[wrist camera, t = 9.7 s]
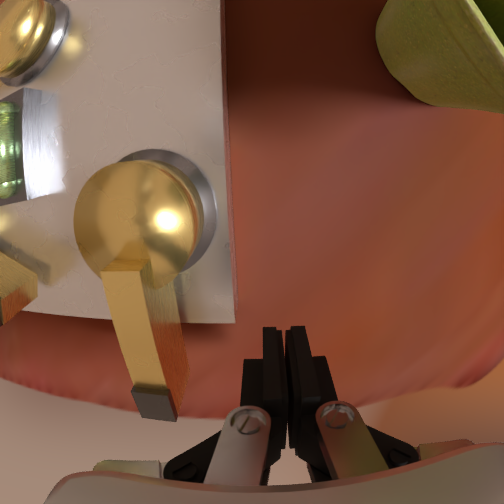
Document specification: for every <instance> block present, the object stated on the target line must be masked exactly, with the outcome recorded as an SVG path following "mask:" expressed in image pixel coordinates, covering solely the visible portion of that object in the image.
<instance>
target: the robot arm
mask: <svg viewBox="0 0 504 504" xmlns="http://www.w3.org/2000/svg"><path fill="white" fill-rule="evenodd" d="M287 423H288V435H289V447H290V449H292V448H295V455H296V456H298V457H299V458H301V459H302V460H304V461H306V462H307V469H308V472H309V475H310V479H311V482H312V483H306V484H293V485H273V486H267V485H268V480H269V474H270V466H271V465H273V464H274V463H275V462H276V461H278V460H279V459H280V456H281V449H285V445H286V433H287ZM44 504H504V443H502V442H487V443H478V444H474V443H473V442H472V441H470V440H467V439H459V440H453V441H445V442H438V443H427V444H419V445H418V447H413V446H411V445H410V444H408V443H405V442H403V441H401V440H398V439H396V438H394V437H391V436H389V435H387V434H385V433H382V432H380V431H378V430H376V429H374V428H372V427H369V426H367V425H365V423H364V421H363V419H362V418H361V416H360V414H359V412H358V411H357V409H356V408H355V407H354V406H353V405H351V404H350V403H347V402H344V401H338V399H337V395H336V391H335V388H334V384H333V381H332V377H331V374H330V370H329V367H328V363H327V360H326V357H325V356H314V357H312V355H311V351H310V346H309V342H308V338H307V334H306V329H305V326H291V329H290V330H286V333H285V356H284V347H283V338H282V330H276V327H263V359H244V364H243V376H242V389H241V402H240V407H238V408H236V409H234V410H232V411H231V412H230V413H229V414H228V415H227V417H226V419H225V422H224V425H223V428H222V430H221V431H219V432H218V433H216V434H214V435H213V436H211V437H209V438H208V439H206V440H204V441H203V442H201V443H200V444H198V445H196V446H194V447H193V448H191V449H189V450H187V451H186V452H184V453H182V454H180V455H178V456H176V457H175V458H173V459H172V460H170V461H169V462H168V463H160V462H159V460H158V461H157V460H155V461H126V460H125V461H123V460H104V461H101V462H99V463H97V465H95V466H94V468H93V471H86V472H79V473H74V474H70V475H68V476H65V477H64V478H62V479H61V480H60V481H59V482H58V483H57V484H56V485H55V486H54V488H53V489H52V491H51V492H50V494H49V495H48V497H47V499H46V500H45V502H44Z"/></svg>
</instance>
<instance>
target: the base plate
mask: <svg viewBox="0 0 504 504" xmlns="http://www.w3.org/2000/svg"><path fill="white" fill-rule="evenodd" d="M44 1H46V2H48V3H50V4H51V5H53V7H54V8H55V11H56V21H55V26H54V29H53V32H52V35H51V37H50V39H49V41H48V43H47V45H46V47H45V49H44V50H43V52H42V53H41V55H40V56H39V57H38V59H37V60H36V61H35V62H34V63H33V65H32V66H31V67H30V68H29V69H27V70H26V71H25V72H24V73H23V74H21V75H19V76H17V77H15V78H3V77H0V252H2V253H3V254H5V255H7V256H8V257H10V258H11V259H13V260H15V261H16V262H18V263H19V264H21V265H23V266H24V267H26V268H28V269H30V270H31V271H33V272H35V273H36V274H38V297H37V298H36V299H34V300H33V301H32V302H31V303H29V304H28V305H27V306H26V307H24V308H23V309H22V310H24V311H31V312H39V313H47V314H56V315H65V316H75V317H86V318H98V319H112V317H111V314H110V310H109V306H108V303H107V299H106V295H105V291H104V286H103V282H102V279H100V278H99V277H98V276H97V275H96V274H95V273H94V272H93V271H92V270H91V269H90V267H89V266H88V265H87V264H86V262H85V260H84V259H83V257H82V255H81V253H80V251H79V248H78V246H77V243H76V239H75V234H74V227H73V217H74V209H75V204H76V201H77V198H78V195H79V193H80V191H81V189H82V187H83V186H84V185H85V183H86V182H87V181H88V179H89V178H90V177H91V176H92V175H93V174H95V173H96V172H97V171H98V170H100V169H102V168H103V167H105V166H108V165H110V164H113V163H118V162H125V161H136V160H149V159H151V160H159V161H163V162H166V163H169V164H171V165H173V166H175V167H177V168H178V169H179V170H181V171H182V172H183V173H184V174H185V175H186V176H187V177H188V178H189V179H190V180H191V181H192V183H193V184H194V186H195V187H196V189H197V191H198V193H199V195H200V198H201V201H202V205H203V210H204V226H203V232H202V236H201V238H200V241H199V243H198V245H197V247H196V249H195V250H194V252H193V253H192V255H191V256H190V258H189V259H188V261H187V263H186V264H185V266H184V267H183V269H182V270H181V271H180V273H179V274H178V275H177V276H176V277H175V278H174V279H173V281H174V288H175V294H176V300H177V306H178V312H179V318H180V323H235V321H236V314H237V307H238V291H237V276H236V260H235V243H234V225H233V207H232V188H231V167H230V146H229V122H228V96H227V65H226V28H225V0H44Z"/></svg>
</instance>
